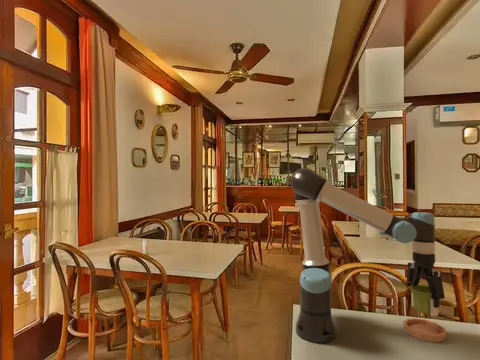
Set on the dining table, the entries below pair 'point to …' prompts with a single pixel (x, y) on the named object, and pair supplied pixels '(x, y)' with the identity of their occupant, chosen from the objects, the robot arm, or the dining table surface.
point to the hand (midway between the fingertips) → (424, 310)
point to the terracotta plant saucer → (424, 330)
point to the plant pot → (421, 298)
